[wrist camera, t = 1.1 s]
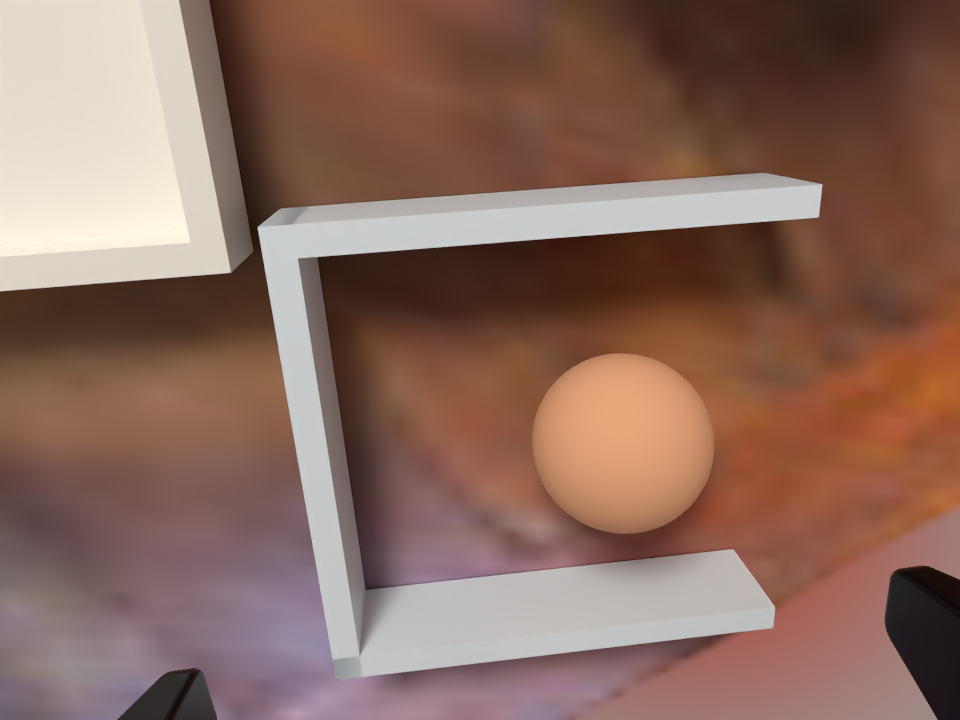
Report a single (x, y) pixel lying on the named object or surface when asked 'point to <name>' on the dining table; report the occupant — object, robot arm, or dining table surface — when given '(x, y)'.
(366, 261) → the dining table surface
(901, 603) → the robot arm
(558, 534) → the dining table surface
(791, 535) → the dining table surface
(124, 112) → the dish
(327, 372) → the white c-shaped bracket
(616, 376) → the ball
